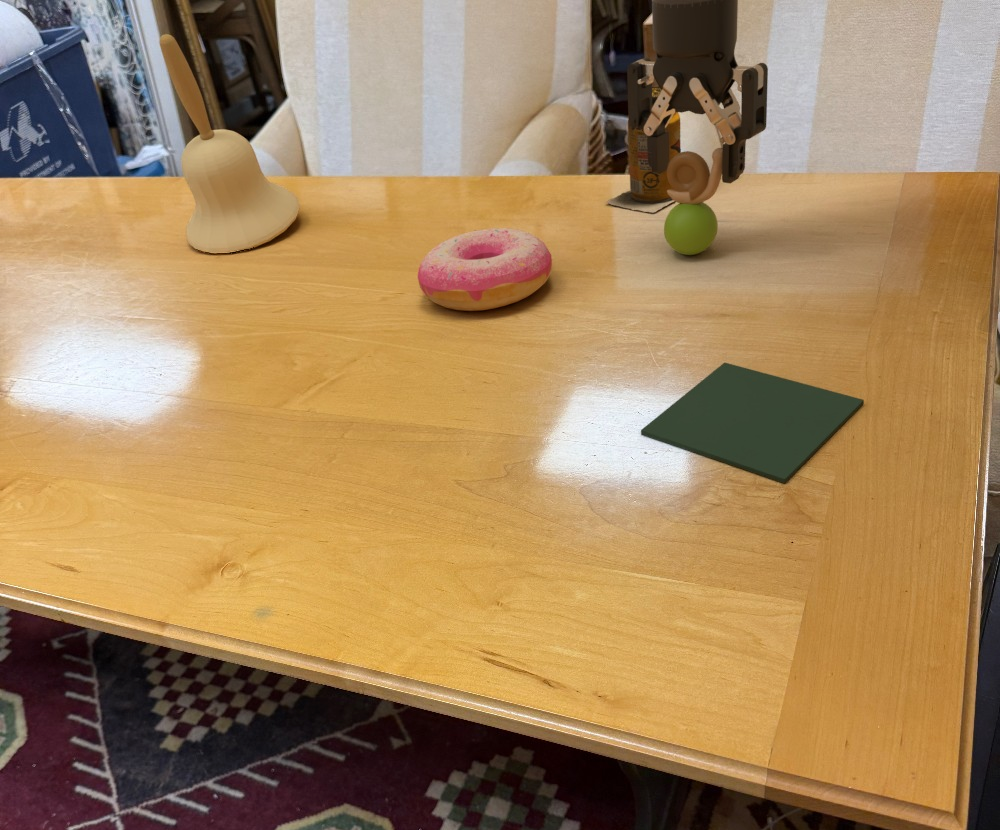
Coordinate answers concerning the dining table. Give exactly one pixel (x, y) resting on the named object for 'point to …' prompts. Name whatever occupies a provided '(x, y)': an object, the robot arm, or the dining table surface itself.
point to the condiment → (648, 169)
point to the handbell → (224, 177)
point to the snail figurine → (692, 201)
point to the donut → (484, 269)
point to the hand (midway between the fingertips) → (694, 175)
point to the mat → (753, 420)
